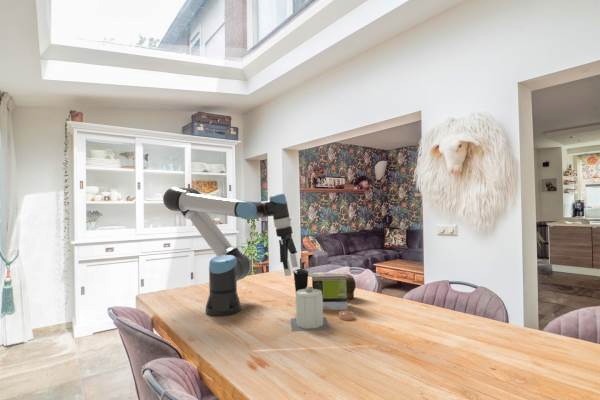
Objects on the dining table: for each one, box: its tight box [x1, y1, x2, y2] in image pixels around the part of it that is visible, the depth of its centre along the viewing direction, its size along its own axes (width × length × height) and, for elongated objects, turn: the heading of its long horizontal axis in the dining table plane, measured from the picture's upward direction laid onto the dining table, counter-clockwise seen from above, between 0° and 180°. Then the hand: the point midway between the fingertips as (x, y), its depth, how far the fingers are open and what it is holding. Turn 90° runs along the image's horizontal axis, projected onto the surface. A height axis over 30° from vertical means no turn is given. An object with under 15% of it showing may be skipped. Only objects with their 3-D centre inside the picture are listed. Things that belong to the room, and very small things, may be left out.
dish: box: [338, 310, 355, 321], centre depth 131 cm, size 6×6×3 cm
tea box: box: [311, 271, 348, 311], centre depth 148 cm, size 15×10×15 cm
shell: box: [345, 273, 357, 301], centre depth 161 cm, size 11×11×12 cm
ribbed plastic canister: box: [295, 286, 324, 329], centre depth 125 cm, size 10×10×14 cm
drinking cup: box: [292, 258, 310, 292], centre depth 160 cm, size 8×8×20 cm
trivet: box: [290, 316, 332, 332], centre depth 125 cm, size 14×14×1 cm
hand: (291, 271), depth 156 cm, fingers open, 13 cm apart
